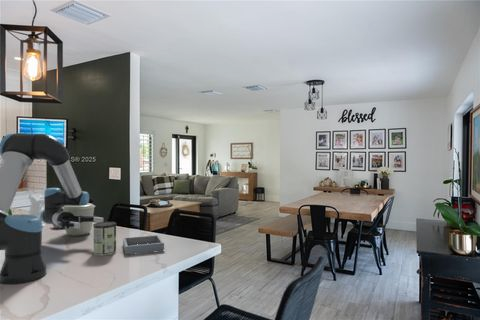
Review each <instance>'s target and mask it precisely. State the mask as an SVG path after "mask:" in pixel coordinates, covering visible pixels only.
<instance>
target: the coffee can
mask: <svg viewBox="0 0 480 320" xmlns="http://www.w3.org/2000/svg"><path fill="white" fill-rule="evenodd" d="M92 227H93V255H94V256H98V257H99V256H101V257H102V256H110V255H113V254H116V253H117V222H115V221H103V222H99V223H96V222H94V223H92Z"/></svg>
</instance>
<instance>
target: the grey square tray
mask: <svg viewBox="0 0 480 320" xmlns="http://www.w3.org/2000/svg"><path fill="white" fill-rule="evenodd" d="M156 242H157V243H156ZM147 243H151V244H147ZM137 244H143V245H137ZM128 245H129V246H128ZM122 247H123V250H124V255H125V256H128V255H127V254H132V255H136V254H135V253H141V254H146V253H145V252H151V253H155V252H154V251H161V252H164V251H165V242H164V241H163V240H162V238H161V237H160V235H159V234H155V235H143V236H141V235H140V236H131V237H123V238H122ZM163 250H164V251H163Z"/></svg>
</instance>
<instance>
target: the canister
mask: <svg viewBox="0 0 480 320" xmlns="http://www.w3.org/2000/svg"><path fill="white" fill-rule="evenodd" d="M95 208H96V205H94V203H89V202H88V204H87V205H81V206H61V209H62V211H64V212H71V213H73V214H74V216H81V215H82V216H94V214H95V213H94V211H95ZM79 222H80V219H79ZM92 227H93V222H82V223H80V229H77V228H71V227H69V229H66V227H65V228H64V230H65V233H66V235H67V236H68V235H69V236H71V237H72V236H73V237H74V236H77V237H78V236H85V235H87V234H89V233H90V232H91V230H92Z"/></svg>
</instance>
